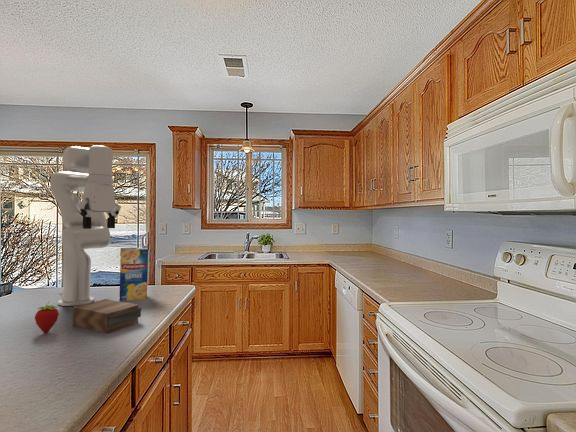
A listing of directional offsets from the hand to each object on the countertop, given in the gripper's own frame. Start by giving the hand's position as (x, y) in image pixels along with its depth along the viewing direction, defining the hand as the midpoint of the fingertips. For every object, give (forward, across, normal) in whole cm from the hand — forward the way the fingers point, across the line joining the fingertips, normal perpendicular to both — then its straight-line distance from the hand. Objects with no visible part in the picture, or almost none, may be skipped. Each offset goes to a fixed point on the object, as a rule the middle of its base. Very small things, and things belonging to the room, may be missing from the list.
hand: (99, 228), depth 116 cm
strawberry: (+32, +17, -1) cm, 36 cm away
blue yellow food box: (+32, -27, -11) cm, 43 cm away
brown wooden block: (+32, +3, +8) cm, 33 cm away
